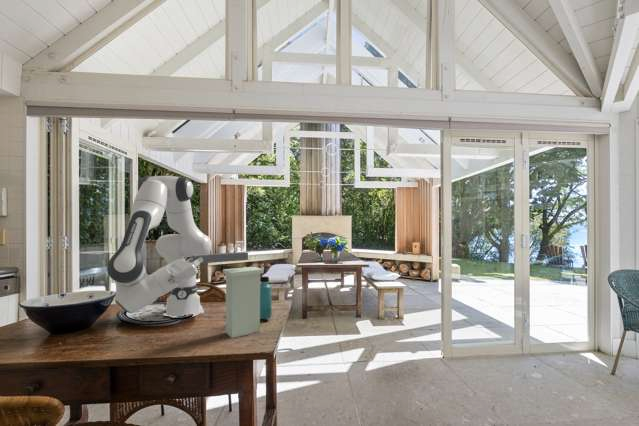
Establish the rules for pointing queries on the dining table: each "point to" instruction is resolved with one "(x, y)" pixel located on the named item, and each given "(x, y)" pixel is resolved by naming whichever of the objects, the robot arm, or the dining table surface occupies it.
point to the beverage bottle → (265, 299)
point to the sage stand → (242, 300)
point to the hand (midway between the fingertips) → (200, 257)
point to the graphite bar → (221, 257)
